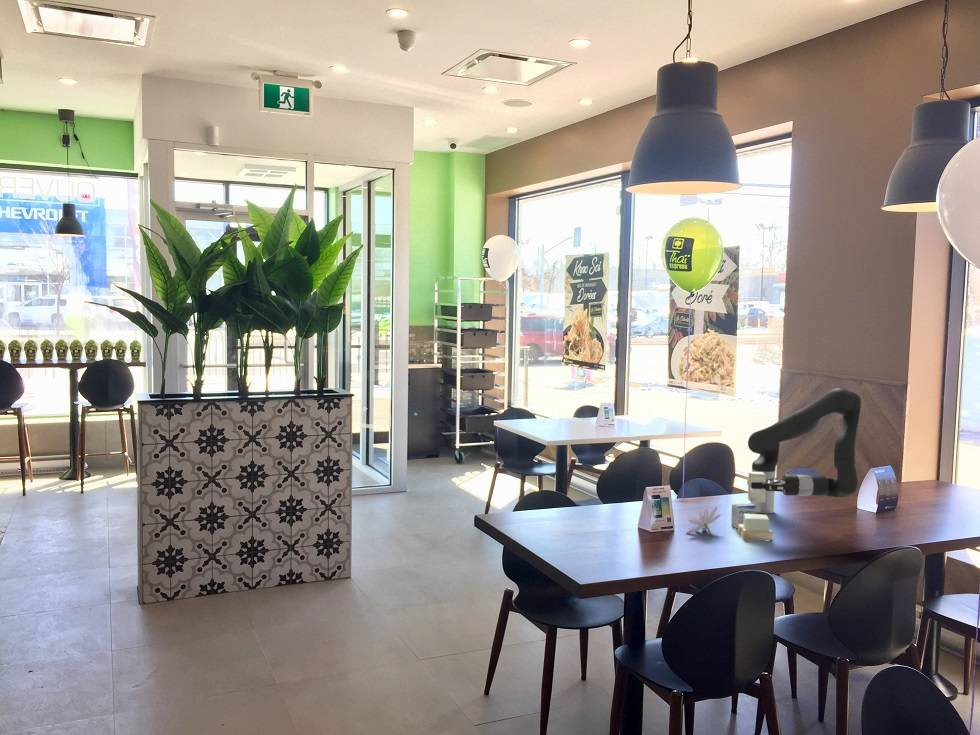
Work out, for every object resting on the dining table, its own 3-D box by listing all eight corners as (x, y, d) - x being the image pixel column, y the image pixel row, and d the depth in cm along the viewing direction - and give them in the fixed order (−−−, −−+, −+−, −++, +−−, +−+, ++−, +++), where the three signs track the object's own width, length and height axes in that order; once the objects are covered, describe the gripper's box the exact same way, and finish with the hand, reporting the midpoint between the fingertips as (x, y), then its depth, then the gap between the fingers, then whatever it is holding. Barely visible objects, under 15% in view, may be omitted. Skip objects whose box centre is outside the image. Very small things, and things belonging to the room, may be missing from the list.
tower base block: (737, 534, 308) (737, 523, 307) (765, 535, 307) (765, 524, 307) (743, 541, 298) (743, 530, 297) (772, 542, 297) (772, 531, 297)
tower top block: (743, 524, 307) (743, 513, 307) (766, 525, 305) (766, 514, 305) (745, 529, 299) (745, 518, 299) (768, 531, 297) (769, 519, 297)
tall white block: (747, 499, 305) (748, 471, 304) (761, 499, 304) (762, 472, 304) (751, 501, 300) (751, 474, 299) (765, 502, 299) (766, 474, 299)
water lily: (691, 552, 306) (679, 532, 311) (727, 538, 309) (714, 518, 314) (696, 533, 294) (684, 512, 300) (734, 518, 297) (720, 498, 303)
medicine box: (737, 529, 314) (738, 506, 313) (730, 526, 318) (731, 503, 318) (755, 527, 316) (756, 505, 315) (749, 525, 320) (749, 502, 320)
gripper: (792, 471, 308) (745, 470, 309) (803, 478, 293) (754, 477, 295) (791, 491, 308) (744, 490, 309) (803, 499, 294) (753, 498, 295)
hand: (749, 483), depth 302 cm, fingers closed on tall white block, 5 cm apart
